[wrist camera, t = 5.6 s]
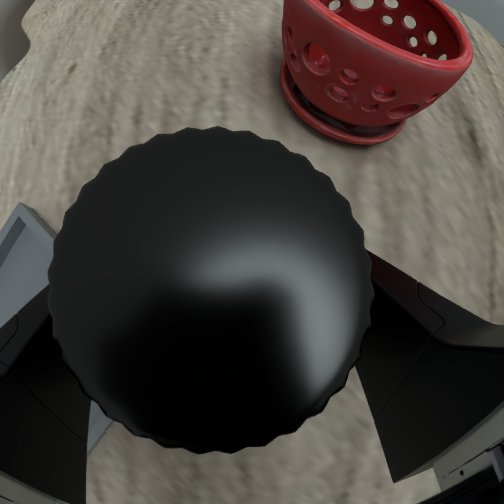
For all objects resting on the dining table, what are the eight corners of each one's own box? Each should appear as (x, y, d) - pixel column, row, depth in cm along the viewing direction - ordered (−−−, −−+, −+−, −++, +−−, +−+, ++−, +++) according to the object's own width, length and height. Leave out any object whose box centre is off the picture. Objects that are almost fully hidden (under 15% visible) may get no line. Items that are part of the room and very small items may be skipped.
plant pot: (412, 88, 26) (474, 17, 14) (380, 185, 24) (474, 114, 12) (301, 27, 26) (329, -63, 14) (238, 108, 24) (251, -10, 12)
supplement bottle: (313, 291, 16) (490, 261, 4) (230, 393, 15) (246, 565, 3) (212, 207, 16) (195, 24, 5) (127, 306, 15) (-52, 304, 3)
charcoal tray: (75, 471, 18) (65, 483, 16) (-40, 346, 18) (-54, 348, 16) (174, 339, 21) (169, 343, 18) (33, 209, 21) (19, 201, 19)
